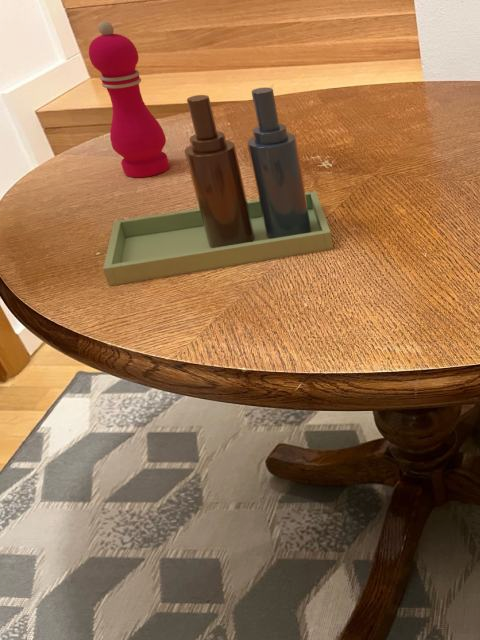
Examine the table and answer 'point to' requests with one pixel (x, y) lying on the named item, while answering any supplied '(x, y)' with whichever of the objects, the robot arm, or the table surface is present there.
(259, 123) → the blue bottle
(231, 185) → the brown bottle
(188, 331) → the table surface
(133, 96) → the pepper mill
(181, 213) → the tray
